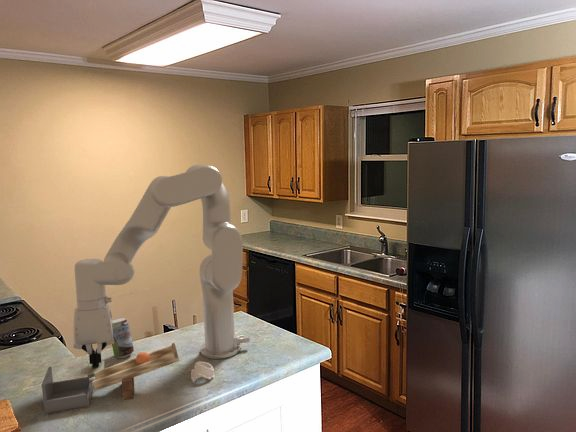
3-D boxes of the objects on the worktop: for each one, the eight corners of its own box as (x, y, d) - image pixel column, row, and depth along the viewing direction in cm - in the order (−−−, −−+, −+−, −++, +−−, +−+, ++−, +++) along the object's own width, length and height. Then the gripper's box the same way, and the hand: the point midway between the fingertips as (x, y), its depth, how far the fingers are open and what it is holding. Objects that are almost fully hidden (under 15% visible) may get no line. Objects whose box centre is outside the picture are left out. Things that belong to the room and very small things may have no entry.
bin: (92, 388, 127) (90, 360, 126) (89, 407, 117) (86, 377, 116) (51, 395, 124) (48, 366, 122) (44, 415, 114) (41, 384, 113)
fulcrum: (134, 381, 130) (132, 363, 129) (134, 398, 121) (133, 379, 120) (123, 383, 129) (121, 364, 128) (122, 400, 120) (120, 381, 119)
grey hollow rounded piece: (189, 376, 134) (186, 360, 134) (211, 369, 137) (208, 354, 136) (194, 387, 127) (191, 370, 126) (218, 379, 129) (215, 363, 129)
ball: (133, 356, 126) (141, 365, 127) (133, 361, 123) (141, 370, 124) (143, 347, 127) (152, 356, 128) (144, 352, 123) (152, 361, 124)
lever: (175, 342, 141) (171, 330, 140) (180, 365, 125) (176, 352, 124) (91, 371, 134) (87, 358, 133) (86, 400, 118) (81, 385, 117)
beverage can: (127, 360, 143) (124, 323, 141) (106, 359, 145) (103, 322, 143) (138, 352, 149) (135, 316, 147) (117, 350, 151) (114, 315, 149)
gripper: (120, 296, 135) (123, 356, 137) (64, 302, 130) (68, 363, 133) (119, 304, 128) (123, 367, 130) (60, 310, 123) (65, 375, 126)
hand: (95, 365), depth 131 cm, fingers closed
